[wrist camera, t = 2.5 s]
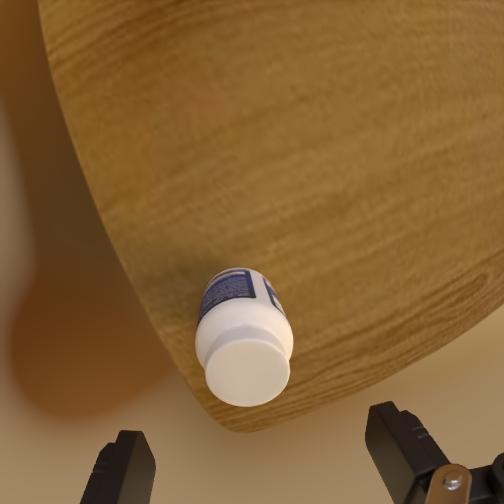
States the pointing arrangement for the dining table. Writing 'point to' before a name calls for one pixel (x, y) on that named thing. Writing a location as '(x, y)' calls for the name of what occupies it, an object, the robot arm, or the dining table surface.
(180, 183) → the dining table surface
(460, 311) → the dining table surface
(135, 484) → the robot arm
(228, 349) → the pill bottle
